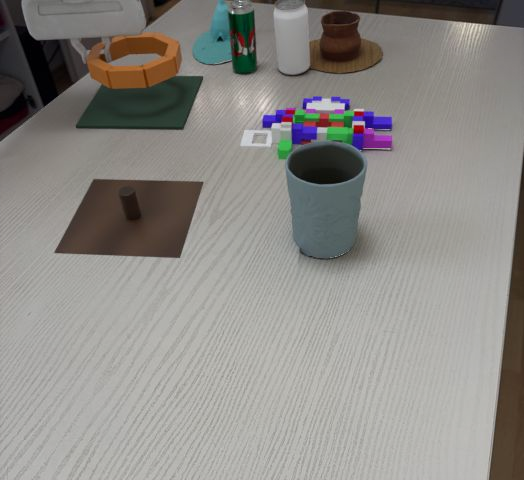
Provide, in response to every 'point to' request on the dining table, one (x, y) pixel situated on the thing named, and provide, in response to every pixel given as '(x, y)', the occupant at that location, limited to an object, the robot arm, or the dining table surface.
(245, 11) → the soda can
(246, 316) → the dining table surface
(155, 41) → the ring
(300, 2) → the can
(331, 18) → the ceramic pot
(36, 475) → the dining table surface
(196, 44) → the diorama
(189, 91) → the mat
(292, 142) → the building block set
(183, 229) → the ring toss
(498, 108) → the dining table surface
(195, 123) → the dining table surface
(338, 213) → the grey blue cup
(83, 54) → the robot arm
